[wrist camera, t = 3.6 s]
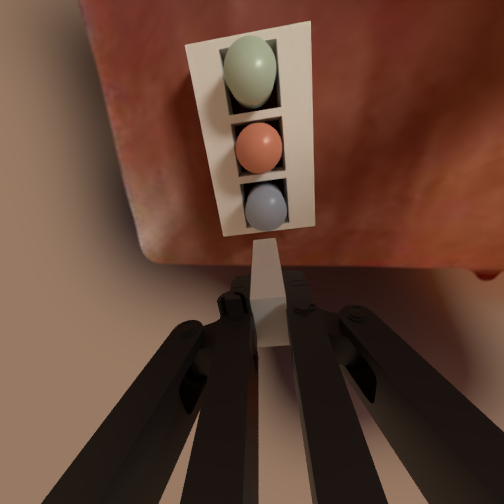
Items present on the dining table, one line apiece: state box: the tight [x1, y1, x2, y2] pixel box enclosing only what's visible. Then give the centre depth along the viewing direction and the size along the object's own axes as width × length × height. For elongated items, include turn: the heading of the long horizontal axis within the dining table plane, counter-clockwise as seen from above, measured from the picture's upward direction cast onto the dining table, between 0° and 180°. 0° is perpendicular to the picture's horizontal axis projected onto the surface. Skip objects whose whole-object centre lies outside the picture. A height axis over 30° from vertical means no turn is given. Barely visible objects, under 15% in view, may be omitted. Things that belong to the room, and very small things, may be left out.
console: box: [185, 21, 315, 237], centre depth 28 cm, size 20×12×5 cm, turn 8°
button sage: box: [224, 35, 276, 109], centre depth 23 cm, size 5×5×6 cm
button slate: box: [245, 182, 287, 232], centre depth 28 cm, size 5×5×6 cm
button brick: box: [236, 123, 282, 174], centre depth 26 cm, size 5×5×6 cm
